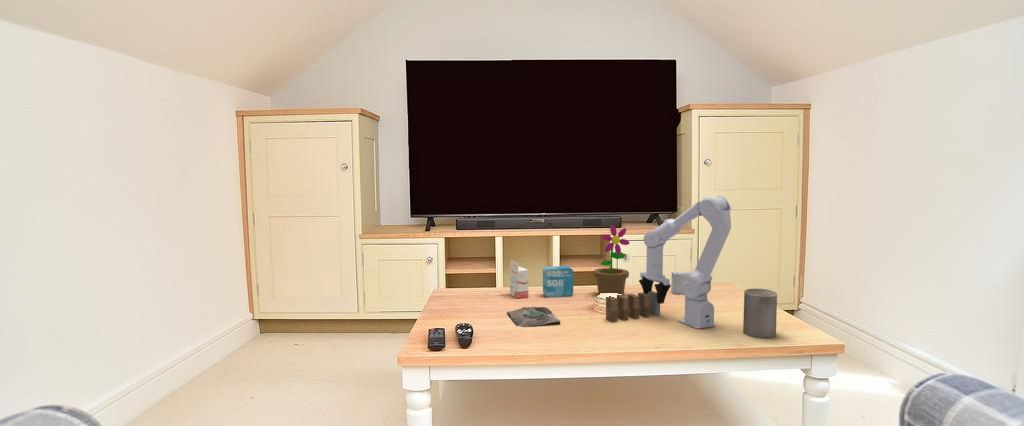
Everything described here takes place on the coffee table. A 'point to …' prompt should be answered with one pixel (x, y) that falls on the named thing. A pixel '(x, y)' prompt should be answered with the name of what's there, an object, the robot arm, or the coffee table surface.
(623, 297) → the tile
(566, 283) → the data package
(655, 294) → the tile
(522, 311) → the terrain model
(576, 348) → the coffee table surface
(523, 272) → the ink cartridge box
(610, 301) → the tile
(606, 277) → the flowerpot
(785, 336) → the coffee table surface
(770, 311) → the pillar candle
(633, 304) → the tile
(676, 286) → the medicine box
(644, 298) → the tile
